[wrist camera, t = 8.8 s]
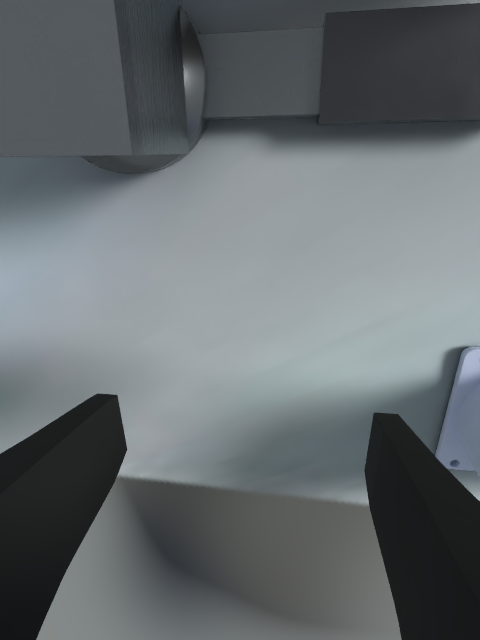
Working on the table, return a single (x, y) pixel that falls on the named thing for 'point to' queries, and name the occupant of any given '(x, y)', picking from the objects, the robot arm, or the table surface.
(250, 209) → the table surface
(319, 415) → the table surface
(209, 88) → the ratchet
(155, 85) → the grey brushed cube
